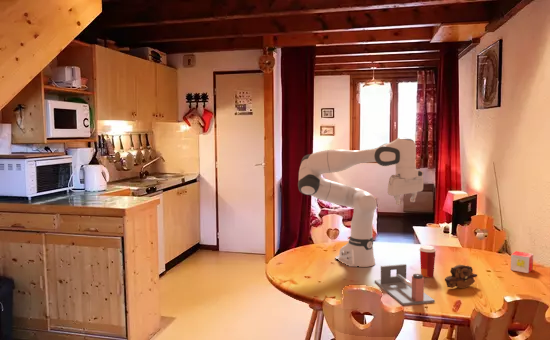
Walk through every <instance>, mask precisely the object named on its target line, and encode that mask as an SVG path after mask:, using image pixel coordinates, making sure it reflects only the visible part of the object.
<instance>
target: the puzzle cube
mask: <svg viewBox="0 0 550 340" xmlns="http://www.w3.org/2000/svg"><path fill="white" fill-rule="evenodd" d="M510 255H511V256H510V257H511V258H510V270H511V271H515V272H520V273H526V274H530V273H531V271H533V269H534V253H529V252H525V251H524V252H523V251H517V250H516V251H514V252H513V253H511V254H510Z"/></svg>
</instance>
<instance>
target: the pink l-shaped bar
mask: <svg viewBox="0 0 550 340" xmlns="http://www.w3.org/2000/svg"><path fill="white" fill-rule="evenodd" d="M395 276H396V275H395ZM396 277H397V278H398V279H399V280H400V281H402V282H403V283H405V284H406V285H407V286H409V287H410V288H412V299H413V300H414V301H416V302H418V301H423V299H424V293H425V290H424V289H425V287H424V286H425V285H424V283H425V282H424V281H425V277H423V275H421V273H413V275H412V276H411V281H410V280H409V279H408V278H407V277H406V278H404V277H403V276H401V275H400V274H397V276H396Z"/></svg>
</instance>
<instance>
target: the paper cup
mask: <svg viewBox="0 0 550 340" xmlns="http://www.w3.org/2000/svg"><path fill="white" fill-rule="evenodd" d="M418 251H419V255H420V256H419V257H420V258H419V259H420V274H421V275H423V278H433V277H434V273H435V272H434V271H435V261H436V252H437V250H436V248H435V246H433V245H432V246H431V245H421V246H420V247H419V249H418Z"/></svg>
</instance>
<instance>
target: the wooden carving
mask: <svg viewBox="0 0 550 340" xmlns="http://www.w3.org/2000/svg"><path fill="white" fill-rule="evenodd" d="M450 274H451V275H447V276H446V277H445V278H444V282H445V283H446V287H447V288H450V289H453V288H455V287H457V288H460V289H465V288H469V287H470V286H472V285H473V284H474V283H475V282H476V281H475V279H474V278H476V277H478V274H475V273H473V267H472V266H470V265H464V264H458V265H455V266H454V267H450Z"/></svg>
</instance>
